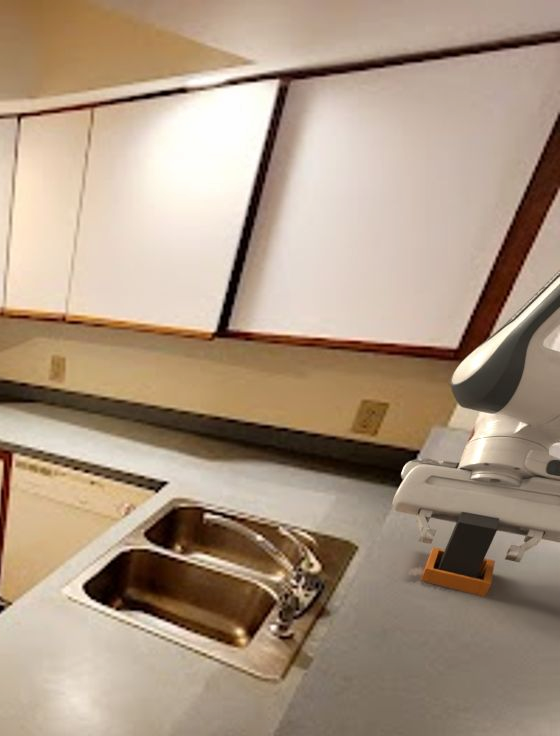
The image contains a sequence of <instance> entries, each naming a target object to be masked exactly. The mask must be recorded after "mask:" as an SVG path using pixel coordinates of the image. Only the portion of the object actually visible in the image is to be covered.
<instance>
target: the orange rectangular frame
mask: <svg viewBox="0 0 560 736" xmlns="http://www.w3.org/2000/svg"><path fill="white" fill-rule="evenodd" d="M444 551H445V549H442V548H437V547H432V549H431V551H430V554H429V557H428V558H427V561H426V564H425V567H424V570H423V572H422V575H421V579H420V582H425V583H429V584H433V585H437V586H441V587H445V588H449V589H453V590H457V591H461V592H465V593H470V594H474V595H478V596H482V597H486V595H487V593H488V591H489V588H490V587H491V585H492V579H493V575H494V570H495V569H494V568H495V563H496V561H495V560H493V559H489V558H488V559H487V558H484V560H483V562H482V564H481V567H480V569H479V571H478V573H479V574H481V575H480V578H477V577H475V578H473V577H469V576H464V575H460V574H456V573H451V572H447V571H443V570H438V568H435V565H436V564H439V563H440V561H441V558H442V556H443V554H444Z"/></svg>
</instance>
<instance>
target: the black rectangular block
mask: <svg viewBox="0 0 560 736" xmlns="http://www.w3.org/2000/svg"><path fill="white" fill-rule="evenodd" d="M498 523H499V518H495V517H489V516H484V515H478V514H473V513H467V512H461V514H460V516H459V518H458V521H457V523H455V525H454V527H453V530H452V532H451V535H450V536H449V540H448V542H447V544H446V547H445V548H444V550H445V551H444V554H443V556H442V558H441V561H440V563H438V565H437V569H438V570H443V571H447V572H451V573H456V574H460V575H464V576H469V577H473V578H477V575H478V573H479V572H478V571H479V569H480V567H481V564H482V562H483V560H484V559H486V555H487V554H488V551H489V549H490V547H491V544H492V543H493V540H494V538H495V536H496V534H497V532H498V531H497V529H498Z"/></svg>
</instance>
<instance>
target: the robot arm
mask: <svg viewBox="0 0 560 736" xmlns="http://www.w3.org/2000/svg"><path fill="white" fill-rule="evenodd" d="M558 327H560V269H559V270H558V271H557V272H556V273H555V274H554V275H553V276H552V277H551V278H550V279H549V280H548V281H547V282H546V283H545V284H544V285H543V286H542V287H541V288H540V289H539V290H537V292H536V293H535V294H533V295H532V297H531V298H529V299H528V300H527V302H526V303H525V304H524V305H522V306H521V308H520V309H519V310H517V312H515V313H514V314H513V315H512V316H511V317H510V318H509V319H508V320H507V321H506V322H505V323H504V324H503V325H502V326H501V327H500V328H499V329H497V330H496V331H495V332H494V333H493V334H492V335H490V337H488V338H487V339H486V340H484V341H483V342H482V343H481V344H480V345H478V347H476V348H475V349H474V350H473V351H471V353H469V354H468V355H467V356H466V357H465V358H464V359H463V360H462V361H461V362H460V364H459V365H458V366H457V367H456V368H455V371H454V372H453V373H452V375H451V376H450V380H449V384H450V389H451V392H452V395H453V397H454V399H455V400H456V402H457V404H458V405H459V406H460V407H461V408H464V409H467V410H468V409H469V410H472V411H476V412H478V414H477V416H476V419H475V422H474V425H473V428H474V430H475V433H474V436H473V437H472V438H471V439H470V441H469V442H468V441H467V442H468V443H467V442H466V445H465V447H464V450H463V452H462V454H461V457H460V460H459V462H455V461H449V460H437V459H432V458H429V457H421V458H419V459H412V460H410V461H408V462H406V463H405V465H403V468H402V470H401V473H400V477H401V480H402V481H401V483H400V485H399V487H398V488H397V490H396V492H395V494H394V497H393V500H392V502H391V505H392V507H393V509H394V510H395V512H399V513H403V514H409V515H414V516H417V518H416V523H417V526H418V528H419V530H420V532H421V533H420V536H419V537H418V542H420V543H426V544H432V542H433V540H434V537H435V535H436V532H437V529H433V528H430V526H429V522H430V519H434V520H435V519H436V520H440V521H445V522H449V523H455V524H456V523H457V521H458V518H459V516H460V514H461V512H467V513H473V514H478V515H484V516H489V517H495V518H499V523H498V529H497V532H502V533H508V534H513V535H518V536H523V537H524V539H523V543H522V544H521V545H519V546H518V545H513V544H511V545H510V547H509V548H508V550H507V551H506V555H505V557H504V560H505V561H512V562H514V563H520V562H521V560H522V559H523V558H524V554H525V553H526V552H528V551H529V550H530V549H532V548H534V547H536V546H538V544H539V543H540V542H541V541H542V540H545V541H550V542H555V543H560V458H559V457H556V456H554V455H551V454H550V449H551V447H552V446H553V445H554V444H556V443H560V351H558V350H555V349H552V348H548V347H546V346H545V345H544V342H545V340H546V339H547V338H548V337H549V336H550V335H551V334H552V333H553V332H554V331H555V330H556V329H557V328H558Z"/></svg>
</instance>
